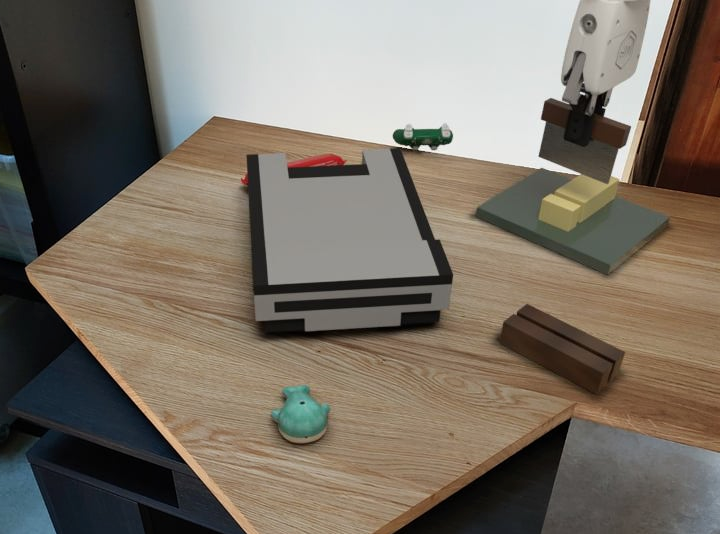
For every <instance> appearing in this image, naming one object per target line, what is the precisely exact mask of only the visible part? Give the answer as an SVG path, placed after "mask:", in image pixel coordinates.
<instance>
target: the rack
mask: <svg viewBox="0 0 720 534" xmlns="http://www.w3.org/2000/svg"><path fill="white" fill-rule="evenodd" d="M501 327H502V328H501V332H500V337H499V342H498V343H499V344H500V345H503V346H504V347H506V348H508V349H510V350H512V351H513V352H515V353H517V354H519V355H521V356H523V357H524V358H527V359H528V360H530V361H532V362H534V363H535V364H538V365H540V366H541V367H544V368H545V369H547V370H549V371H550V372H553V373H554V374H557V375H559V376H561V377H562V378H564V379H566V380H568V381H570V382H572V383H573V384H575V385H577V386H579V387H581V388H583V389H585V390H586V391H589V392H590V393H592V394H594V395H597V394H598V393H600V392H602V391H601V390H603V389H604V388H605V387H606V386H607V383H610V382H611V381H612V380H613V379H615V377H616V376H617V375H618V374H619V372H620V369H621V366H622V365H623V361H624V358H625V355H626V351H625V350H622V349H620V348H619V347H616V346H614V345H612V344H610V343H608V342H606V341H604V340H602V339H600V338H598V337H596V336H594V335H591V334H590V333H588V332H586V331H583V330H581V329H579V328H577V327H576V326H573V325H571V324H569V323H567V322H566V321H563V320H561V319H559V318H557V317H555V316H553V315H551V314H549V313H547V312H545V311H543V310H541V309H539V308H537V307H535V306H532V305H531V304H528V303H526V304H525V305H523V306H522V307H520V308H519V309H518V310H517V311H516V314H515V313H513V314H511V315H510V316H509V317H508V318H506V319H505V320H503V322H502V326H501Z"/></svg>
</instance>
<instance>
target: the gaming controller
mask: <svg viewBox="0 0 720 534" xmlns="http://www.w3.org/2000/svg"><path fill="white" fill-rule="evenodd" d="M392 139H393V141H394V142H395V143H396V144H398V145H400V146H404V147H410V149H411V150H412V151H413V152H415V151H419V149H420V147H421V146H428V147H429V148H430V150H431V151H437V150H438V148H439V147H440V146H447V145H449V144H452V142H453V139H454V132H453V131H452V130H451V129H450V126H449V124H448V123H446V122H445V123H443V124H441V126H440V127H439V128H414V127H413V125H412V124H411V123H407V124H406V125H405V128H397V129H395V130H394V132H393V133H392Z"/></svg>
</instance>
